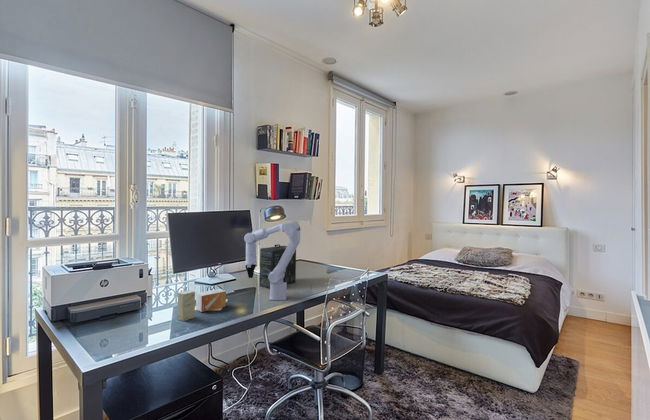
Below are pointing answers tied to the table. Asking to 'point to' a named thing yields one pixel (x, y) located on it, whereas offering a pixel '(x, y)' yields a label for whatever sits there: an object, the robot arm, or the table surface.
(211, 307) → the small box
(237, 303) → the table surface
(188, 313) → the skincare box
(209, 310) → the mat
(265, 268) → the headset box
